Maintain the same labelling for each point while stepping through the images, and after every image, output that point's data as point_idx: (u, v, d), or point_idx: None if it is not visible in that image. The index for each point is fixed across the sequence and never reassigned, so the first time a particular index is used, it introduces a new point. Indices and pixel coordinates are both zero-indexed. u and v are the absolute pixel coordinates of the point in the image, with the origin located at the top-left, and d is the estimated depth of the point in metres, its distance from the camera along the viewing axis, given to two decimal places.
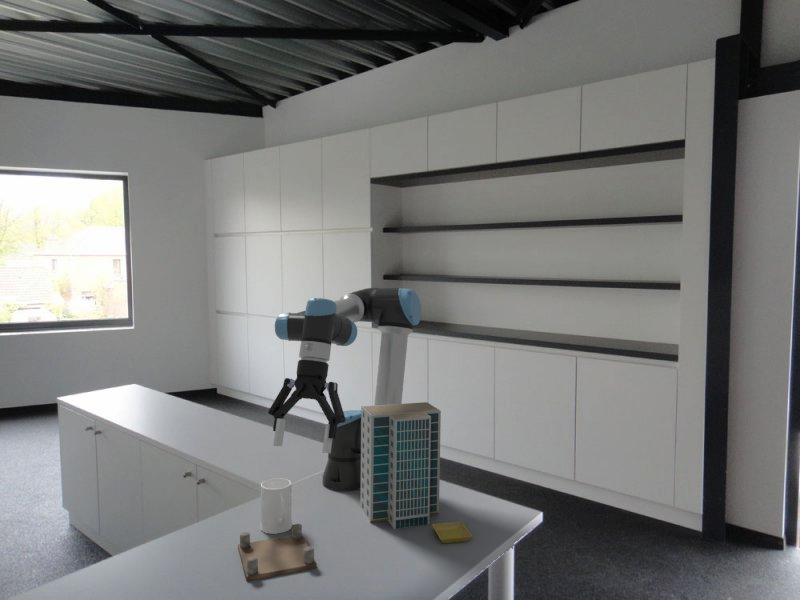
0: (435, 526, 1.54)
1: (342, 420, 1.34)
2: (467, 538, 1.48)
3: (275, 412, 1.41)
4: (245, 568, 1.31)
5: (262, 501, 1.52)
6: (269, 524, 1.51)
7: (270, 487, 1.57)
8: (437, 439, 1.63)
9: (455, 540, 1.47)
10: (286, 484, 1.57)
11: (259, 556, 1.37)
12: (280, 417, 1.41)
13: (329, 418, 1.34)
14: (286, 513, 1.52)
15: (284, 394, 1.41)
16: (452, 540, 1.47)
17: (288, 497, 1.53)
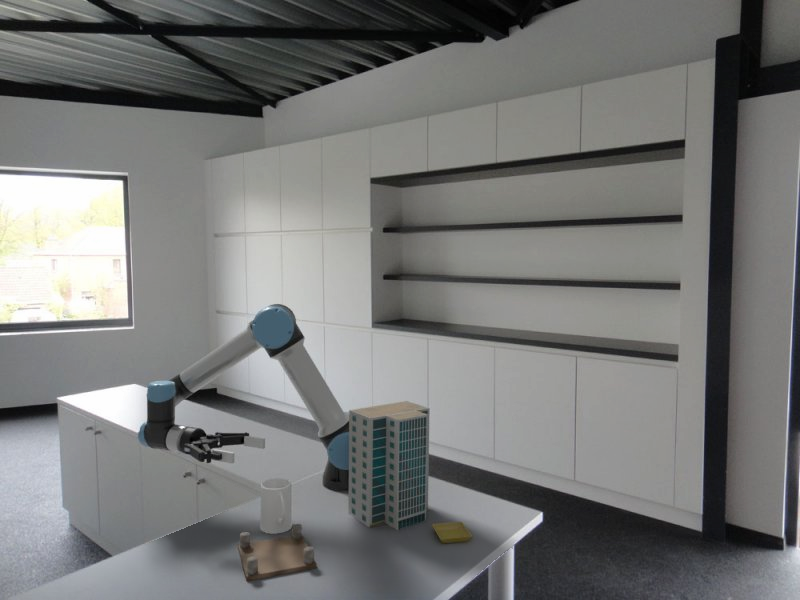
0: (435, 526, 1.54)
1: (201, 458, 1.49)
2: (467, 538, 1.48)
3: None
4: (245, 568, 1.31)
5: (262, 501, 1.52)
6: (269, 524, 1.51)
7: (270, 487, 1.57)
8: None
9: (455, 540, 1.47)
10: (286, 484, 1.57)
11: (259, 556, 1.37)
12: None
13: None
14: (286, 513, 1.52)
15: None
16: (452, 540, 1.47)
17: (288, 497, 1.53)
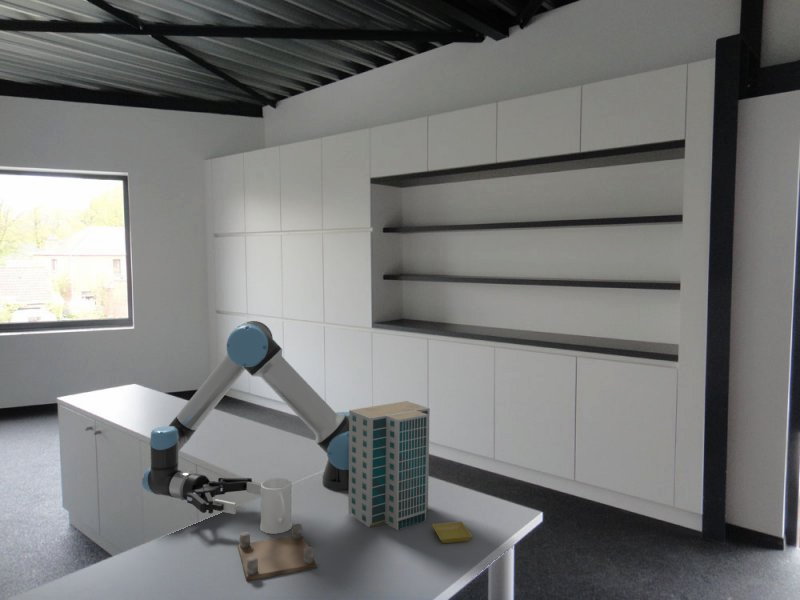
0: (435, 526, 1.54)
1: (202, 509, 1.50)
2: (467, 538, 1.48)
3: None
4: (245, 568, 1.31)
5: (262, 501, 1.52)
6: (269, 524, 1.51)
7: (270, 487, 1.57)
8: None
9: (455, 540, 1.47)
10: (286, 484, 1.57)
11: (259, 556, 1.37)
12: None
13: None
14: (286, 513, 1.52)
15: None
16: (452, 540, 1.47)
17: (288, 497, 1.53)
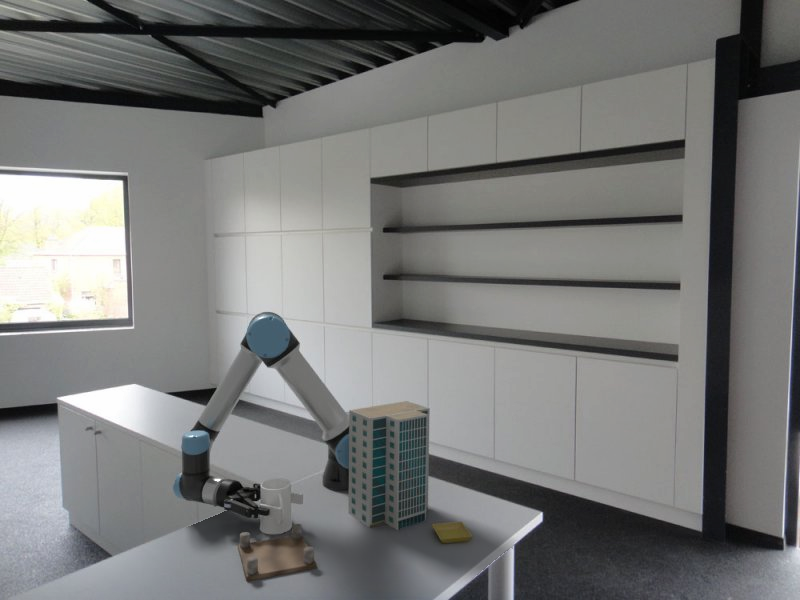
0: (435, 526, 1.54)
1: (248, 514, 1.47)
2: (467, 538, 1.48)
3: None
4: (245, 568, 1.31)
5: (261, 501, 1.52)
6: (268, 524, 1.50)
7: (270, 487, 1.57)
8: None
9: (455, 540, 1.47)
10: (286, 484, 1.57)
11: (259, 556, 1.37)
12: None
13: None
14: (285, 514, 1.52)
15: None
16: (452, 540, 1.47)
17: (287, 498, 1.52)
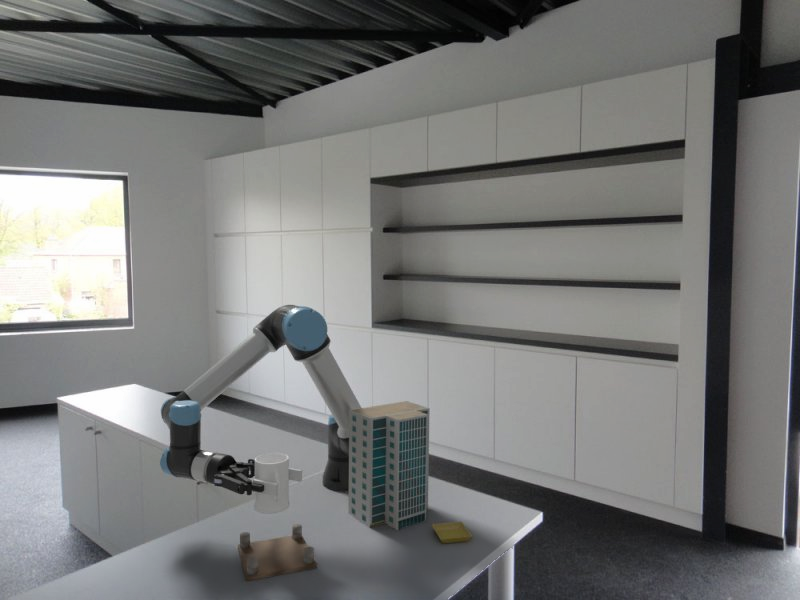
0: (435, 526, 1.54)
1: (240, 490, 1.31)
2: (467, 538, 1.48)
3: None
4: (245, 568, 1.31)
5: (255, 477, 1.36)
6: (263, 502, 1.35)
7: (266, 462, 1.41)
8: None
9: (455, 540, 1.47)
10: (283, 459, 1.41)
11: (259, 556, 1.37)
12: None
13: None
14: (282, 491, 1.36)
15: None
16: (452, 540, 1.47)
17: (284, 473, 1.37)
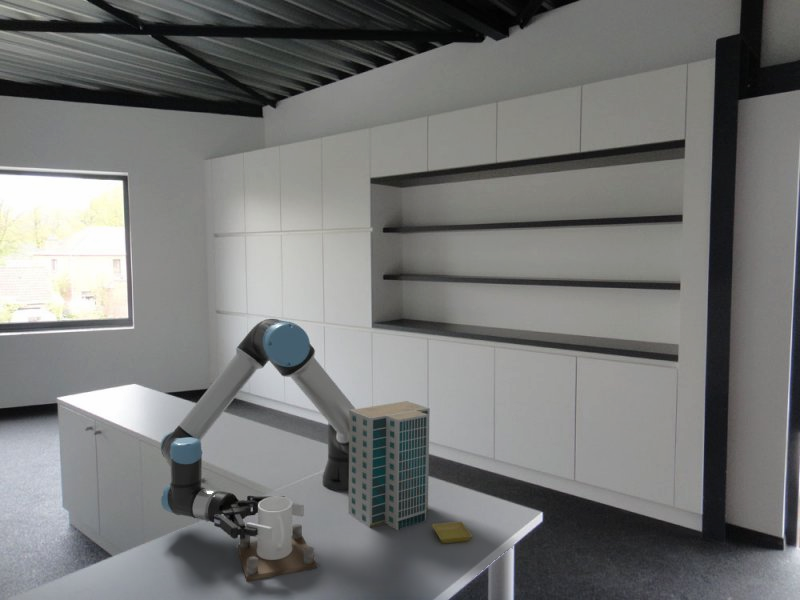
0: (435, 526, 1.54)
1: (233, 534, 1.30)
2: (467, 538, 1.48)
3: None
4: (245, 568, 1.31)
5: (259, 523, 1.36)
6: (267, 549, 1.35)
7: (268, 506, 1.41)
8: None
9: (455, 540, 1.47)
10: (286, 503, 1.41)
11: None
12: None
13: None
14: (286, 537, 1.36)
15: None
16: (452, 540, 1.47)
17: (288, 520, 1.36)
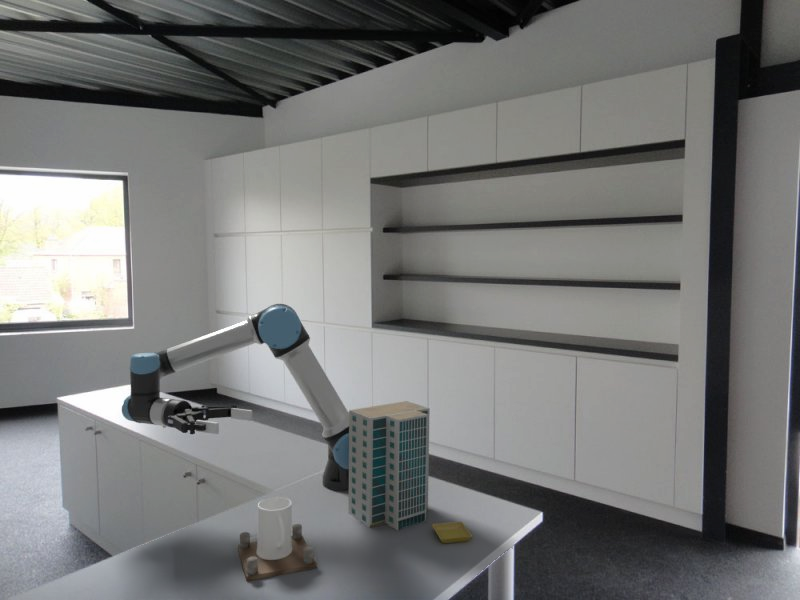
0: (435, 526, 1.54)
1: (183, 429, 1.43)
2: (467, 538, 1.48)
3: None
4: (245, 568, 1.31)
5: (259, 523, 1.36)
6: (267, 549, 1.35)
7: (268, 507, 1.42)
8: None
9: (455, 540, 1.47)
10: (286, 504, 1.42)
11: None
12: None
13: None
14: (285, 537, 1.37)
15: None
16: (452, 540, 1.47)
17: (287, 519, 1.37)
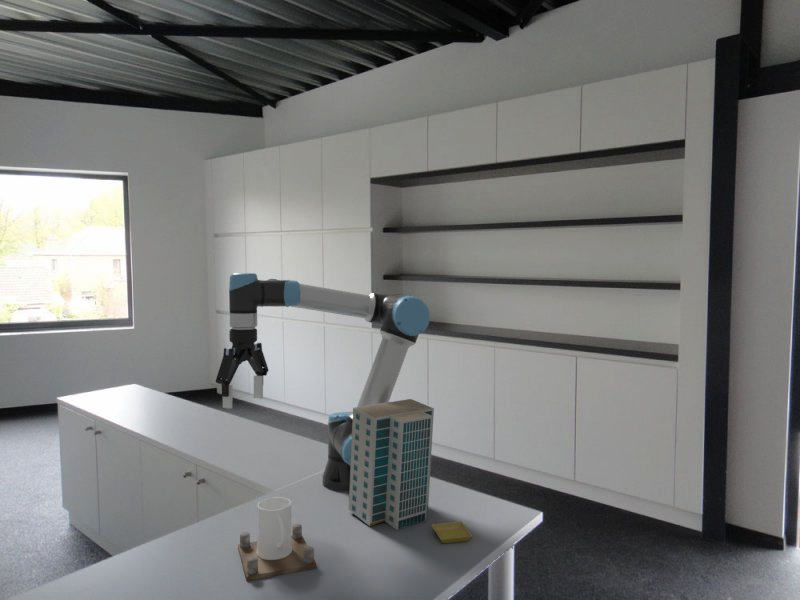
0: (435, 526, 1.54)
1: (218, 381, 1.52)
2: (467, 538, 1.48)
3: None
4: (245, 568, 1.31)
5: (259, 523, 1.36)
6: (267, 549, 1.35)
7: (268, 507, 1.42)
8: None
9: (455, 540, 1.47)
10: (286, 504, 1.42)
11: None
12: (258, 374, 1.68)
13: None
14: (285, 537, 1.37)
15: (256, 355, 1.68)
16: (452, 540, 1.47)
17: (287, 519, 1.37)
